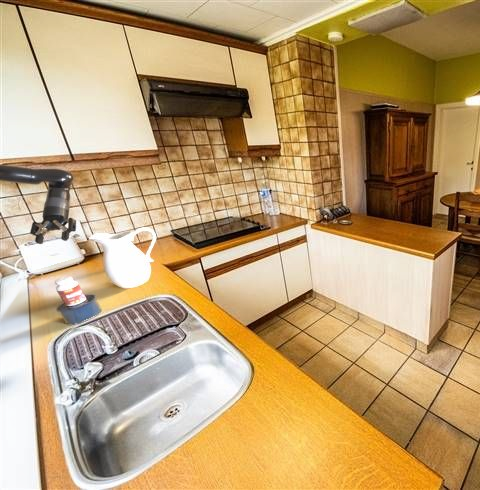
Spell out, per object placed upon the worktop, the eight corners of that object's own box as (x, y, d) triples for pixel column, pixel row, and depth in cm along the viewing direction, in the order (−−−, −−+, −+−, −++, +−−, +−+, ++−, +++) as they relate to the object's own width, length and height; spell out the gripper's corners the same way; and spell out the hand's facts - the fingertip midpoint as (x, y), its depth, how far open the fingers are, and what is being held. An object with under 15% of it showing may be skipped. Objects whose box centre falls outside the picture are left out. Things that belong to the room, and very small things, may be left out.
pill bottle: (71, 307, 106) (57, 284, 102) (62, 305, 108) (47, 282, 103) (90, 298, 111) (77, 276, 107) (81, 296, 113) (68, 274, 109)
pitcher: (111, 296, 126) (83, 242, 114) (116, 281, 138) (91, 232, 127) (171, 279, 138) (151, 229, 127) (170, 267, 151) (152, 221, 139)
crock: (62, 329, 105) (53, 315, 102) (67, 315, 113) (59, 302, 110) (101, 316, 111) (93, 302, 109) (104, 304, 120) (96, 291, 117)
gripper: (28, 207, 115) (22, 241, 110) (69, 203, 119) (65, 235, 114) (44, 215, 122) (38, 247, 116) (82, 211, 126) (79, 242, 120)
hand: (51, 241), depth 115 cm, fingers open, 8 cm apart
